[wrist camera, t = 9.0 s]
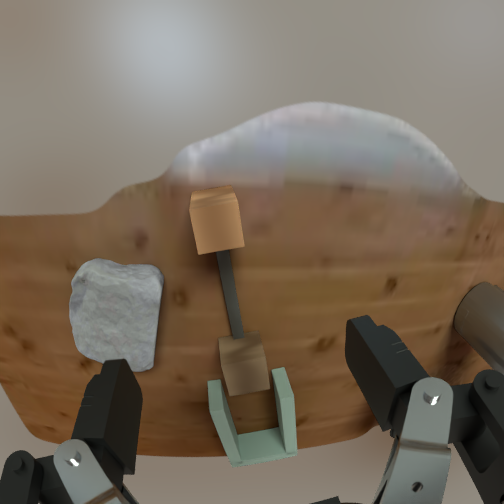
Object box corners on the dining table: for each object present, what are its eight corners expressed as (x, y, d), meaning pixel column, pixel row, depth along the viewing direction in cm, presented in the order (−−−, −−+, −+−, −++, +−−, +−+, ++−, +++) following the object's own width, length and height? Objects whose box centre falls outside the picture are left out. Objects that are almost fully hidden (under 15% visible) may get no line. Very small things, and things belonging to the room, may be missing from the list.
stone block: (86, 333, 34) (162, 358, 35) (68, 355, 30) (150, 384, 30) (86, 242, 30) (173, 265, 31) (62, 257, 26) (158, 285, 26)
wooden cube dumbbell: (236, 184, 28) (244, 200, 23) (263, 362, 37) (272, 398, 31) (186, 192, 28) (182, 211, 22) (226, 368, 36) (231, 406, 31)
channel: (284, 367, 38) (293, 396, 33) (289, 430, 44) (297, 455, 39) (207, 381, 37) (209, 411, 32) (228, 441, 43) (232, 467, 38)
